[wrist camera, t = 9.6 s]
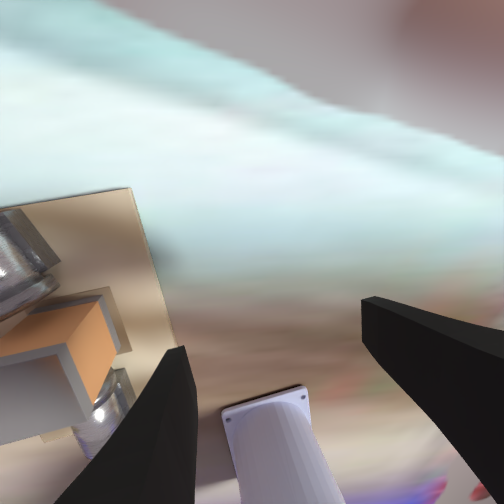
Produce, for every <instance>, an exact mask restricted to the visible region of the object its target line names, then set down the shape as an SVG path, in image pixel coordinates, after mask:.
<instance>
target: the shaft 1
mask: <svg viewBox="0 0 504 504" xmlns="http://www.w3.org/2000/svg"><path fill="white" fill-rule="evenodd" d="M59 262H61V260H60V259H59V257H58V256H57V255H56V253H55V252H54V251H53V250H52V248H51V247H50V246H49V244H48V243H47V242H46V240H45V239H44V238H43V237H42V235H41V234H40V233H39V231H38V230H37V229H36V227H35V226H34V225H33V224H32V222H31V221H30V220H29V218H28V217H27V216H26V214H25V213H24V212H23V211H22V209H21V208H20V209H15V210H10V211H5V212H1V213H0V322H2V321H4V320H6V319H8V318H10V317H12V316H14V315H16V314H18V313H20V312H22V311H23V310H25V309H27V308H29V307H30V306H32V305H34V304H35V303H37V302H39V301H40V300H42V299H43V298H45V297H46V296H48V295H49V294H51V293H52V292H54V291H55V290H56V289H57V288H59V286H60V284H59V282H58V281H57V280H56V279H55V277H54V276H53V275H52V274H51V273H50V274H47V275H44V276H42V275H41V273H42V272H44V271H46V270H48V269H50V268H51V267H53V266H54V265H56V264H58V263H59Z"/></svg>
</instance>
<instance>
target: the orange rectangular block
mask: <svg viewBox="0 0 504 504" xmlns="http://www.w3.org/2000/svg"><path fill="white" fill-rule="evenodd" d="M120 347H121V344H120V341H119V339H118V336H117V333H116V330H115V327H114V325H113V322H112V319H111V316H110V313H109V311H108V308H107V305H106V302H105V299H104V297H103V295H98V296H93V297H88V298H83V299H78V300H74V301H69V302H64V303H59V304H54V305H49V306H44V307H39V308H35V309H33V310H32V311H31V312H30V313H29V314H27V317H26V318H24V319H23V320H22V321H21V322H20V323H18V324H17V325H16V326H15V327H14V328H13V329H11V330H10V331H9V332H8V333H7V334H5V335H4V336H3V337H2V338H1V339H0V446H1V445H4V444H8V443H12V442H15V441H19V440H22V439H26V438H30V437H33V436H37V435H41V434H44V433H48V432H52V431H55V430H59V429H62V428H66V427H70V426H73V425H77V424H81V423H84V422H88V420H89V418H90V416H91V413H92V411H93V409H94V407H93V405H94V403H95V401H96V398H97V396H98V394H99V392H100V389H101V387H102V385H103V383H104V380H105V378H106V376H107V374H108V371H109V369H110V367H111V365H112V362H113V360H114V358H115V356H116V353H118V352H119V349H120Z"/></svg>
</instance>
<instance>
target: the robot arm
mask: <svg viewBox="0 0 504 504" xmlns="http://www.w3.org/2000/svg"><path fill="white" fill-rule="evenodd" d="M361 314H362V342H363V343H364V345H365V346H366V348H367V349H368V350H369V352H370V353H371V355H372V356H373V357H374V358H375V360H376V361H377V362H378V364H379V365H380V366H381V367H382V368H383V369H384V370H385V371H386V372H387V373H388V374H389V375H390V376H391V377H392V379H393V380H394V381H395V382H396V383H397V384H398V385H399V386H400V387H401V388H402V389H403V390H404V391H405V392H406V393H407V394H408V395H409V396H410V397H411V398H412V399H413V401H414V402H415V403H416V404H417V405H418V406H419V407H420V408H421V409H422V410H423V411H424V412H425V413H426V414H427V415H428V416H429V418H430V419H431V420H432V421H433V422H434V423H435V424H436V425H437V427H438V428H439V429H440V430H441V432H442V433H443V434H444V435H445V437H446V438H447V439H448V440H449V442H450V443H451V444H452V445H453V447H454V448H455V449H456V450H457V451H458V453H459V454H460V455H461V457H463V459H464V460H465V462H466V463H467V464H468V466H469V467H470V468H471V470H472V471H473V472H474V473H475V475H476V476H477V477H478V479H479V480H480V481H481V483H482V484H483V485H484V486H485V488H486V489H487V490H488V492H489V493H490V495H491V496H492V497H493V499H494V500H495V501H496V503H497V504H504V331H502V330H497V329H492V328H488V327H483V326H479V325H475V324H471V323H467V322H463V321H460V320H456V319H452V318H448V317H445V316H441V315H438V314H434V313H431V312H428V311H424V310H421V309H418V308H415V307H411V306H408V305H405V304H402V303H398V302H395V301H392V300H388V299H385V298H381V297H376V296H373V297H370V298H366V299H362V300H361ZM302 395H303V396H302ZM221 415H222V420H223V424H224V428H225V432H226V436H227V440H228V444H229V448H230V452H231V456H232V460H233V464H234V468H235V472H236V475H237V479H238V483H239V490H240V497H241V504H346V503H345V501H344V499H343V496H342V494H341V492H340V490H339V488H338V485H337V483H336V481H335V479H334V477H333V474H332V472H331V470H330V468H329V466H328V464H327V461H326V459H325V457H324V455H323V453H322V450H321V448H320V446H319V444H318V442H317V439H316V437H315V435H314V433H313V431H312V427H311V418H310V409H309V400H308V391H307V389H306V387H305V386H299V387H295V388H292V389H289V390H285V391H282V392H279V393H275V394H272V395H269V396H265V397H262V398H259V399H256V400H252V401H249V402H246V403H242V404H239V405H236V406H232V407H229V408H226V409H224V410H223V411H222V413H221ZM227 418H229V419H227ZM197 432H198V406H197V391H196V385H195V382H194V378H193V375H192V371H191V368H190V364H189V361H188V357H187V354H186V350H185V347H184V345H183V346H179V347H176V348H172V349H168V350H167V351H166V352H165V354H164V356H163V357H162V359H161V361H160V362H159V364H158V366H157V368H156V369H155V371H154V373H153V374H152V376H151V378H150V379H149V381H148V382H147V384H146V386H145V387H144V389H143V390H142V392H141V394H140V395H139V397H138V398H137V400H136V401H135V403H134V404H133V406H132V407H131V409H130V410H129V412H128V413H127V414H126V416H125V417H124V419H123V420H122V422H121V423H120V425H119V426H118V427H117V429H116V430H115V431H114V433H113V434H112V435H111V437H110V438H109V439H108V441H107V442H106V443H105V445H104V446H103V447H102V448H101V449H100V451H99V452H98V453H97V454H96V456H95V457H94V458H93V459H92V461H91V462H90V463H89V464H88V465H87V467H86V468H85V469H84V470H83V471H82V472H81V473H80V475H79V476H78V477H77V478H76V479H75V480H74V481H73V482H72V483H71V485H70V486H69V487H68V488H67V489H66V490H65V491H64V492H63V494H62V495H61V496H60V497H59V498H58V499H57V500H56V501H55V503H54V504H194V503H195V474H196V453H197Z"/></svg>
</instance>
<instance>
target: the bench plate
mask: <svg viewBox="0 0 504 504" xmlns="http://www.w3.org/2000/svg"><path fill="white" fill-rule="evenodd" d="M20 208H21V209H22V211H23V212H24V213H25V214H26V216H27V217H28V218H29V220H30V221H31V222H32V224H33V225H34V226H35V227H36V229H37V230H38V231H39V233H40V234H41V235H42V237H43V238H44V239H45V240H46V242H47V243H48V244H49V246H50V247H51V248H52V250H53V251H54V252H55V253H56V255H57V256H58V257H59V259H60V260H61V262H59V263H58V264H56V265H54V266H53V267H51V268H50V269H48V270H46V271H44V272H42V273H41V275H42V276H44V275H47V274H50V273H51V274H52V275H53V276H54V277H55V279H56V280H57V281H58V282H59V284H60V286H59V288H57V289H56V290H55V291H54V292H52V293H51V294H49V295H48V296H46V297H45V298H43V299H42V300H40V301H39V302H37V303H35V304H34V305H32V306H30V307H29V308H27V309H25V310H23V311H22V312H20V313H18V314H16V315H14V316H12V317H10V318H8V319H6V320H4V321H2V322H0V339H1V338H2V337H3V336H4V335H5V334H7V333H8V332H9V331H10V330H11V329H13V328H14V327H15V326H16V325H17V324H18V323H20V322H21V321H22V320H23V319H24V318H26V317H27V314H29V313H30V312H31V311H32V310H33V309H35V308H39V307H44V306H49V305H54V304H59V303H64V302H69V301H74V300H78V299H83V298H88V297H93V296H98V295H103V297H104V299H105V302H106V305H107V308H108V311H109V313H110V316H111V319H112V322H113V325H114V327H115V330H116V333H117V336H118V339H119V341H120V344H121V347H120V349H119V352H118V353H116V356H115V358H114V360H113V362H112V365H111V367H112V368H113V370H117V369H121V368H125V369H126V371H127V374H128V377H129V379H130V382H131V385H132V387H133V390H134V392H135V395H136V398H138V397H139V395H140V394H141V392H142V390H143V389H144V387H145V386H146V384H147V382H148V381H149V379H150V378H151V376H152V374H153V373H154V371H155V369H156V368H157V366H158V364H159V362H160V361H161V359H162V357H163V356H164V354H165V352H166V351H167V350H168V349H172V348H176V347H178V346H177V343H176V339H175V336H174V332H173V329H172V325H171V322H170V319H169V315H168V312H167V308H166V305H165V302H164V298H163V295H162V291H161V288H160V284H159V281H158V278H157V274H156V271H155V267H154V264H153V261H152V257H151V254H150V250H149V247H148V243H147V240H146V237H145V233H144V230H143V226H142V223H141V219H140V216H139V213H138V209H137V206H136V202H135V199H134V196H133V192H132V189H131V188H127V189H121V190H115V191H108V192H102V193H96V194H90V195H84V196H78V197H71V198H65V199H59V200H53V201H47V202H41V203H34V204H28V205H22V206H16V207H10V208H3V209H0V213H1V212H5V211H10V210H15V209H20ZM70 435H73V432H72V430H71V428H70V427H66V428H62V429H59V430H55V431H52V432H48V433H44V434H41V435H40V437H41V439H42V440H43V442H44V443H46V442H49V441H53V440H56V439H60V438H63V437H66V436H70Z"/></svg>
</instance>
